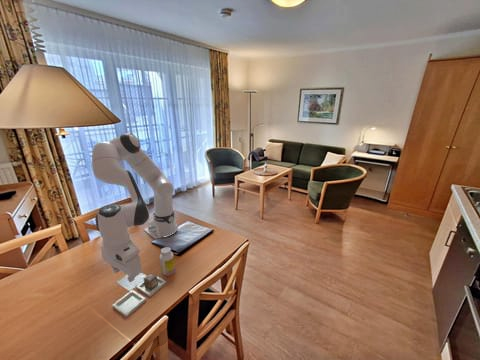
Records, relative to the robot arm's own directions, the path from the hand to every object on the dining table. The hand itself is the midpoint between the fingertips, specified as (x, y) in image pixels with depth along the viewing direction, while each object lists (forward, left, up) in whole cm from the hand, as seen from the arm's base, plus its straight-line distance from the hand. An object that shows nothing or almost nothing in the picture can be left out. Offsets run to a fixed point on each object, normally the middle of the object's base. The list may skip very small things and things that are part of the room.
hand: (123, 276), depth 85 cm
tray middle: (0, +11, -15) cm, 19 cm away
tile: (-11, +9, -15) cm, 21 cm away
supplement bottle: (-1, +22, -15) cm, 27 cm away
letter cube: (0, +11, -14) cm, 18 cm away
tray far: (0, 0, -15) cm, 15 cm away
